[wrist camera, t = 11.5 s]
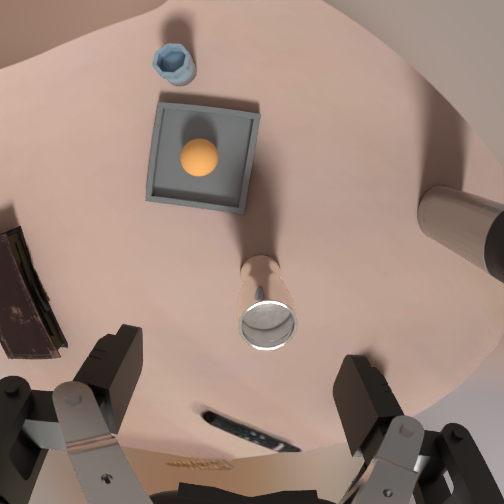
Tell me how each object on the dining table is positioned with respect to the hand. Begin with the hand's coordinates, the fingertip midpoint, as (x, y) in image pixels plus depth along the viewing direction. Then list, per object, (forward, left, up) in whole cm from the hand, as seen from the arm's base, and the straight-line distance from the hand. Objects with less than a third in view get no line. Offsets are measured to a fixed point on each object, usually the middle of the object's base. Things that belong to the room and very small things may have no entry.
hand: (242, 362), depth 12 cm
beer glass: (-5, +10, -35) cm, 37 cm away
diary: (+42, +23, -36) cm, 60 cm away
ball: (+6, -6, -32) cm, 33 cm away
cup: (+11, -18, -35) cm, 41 cm away
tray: (+7, -6, -35) cm, 36 cm away
